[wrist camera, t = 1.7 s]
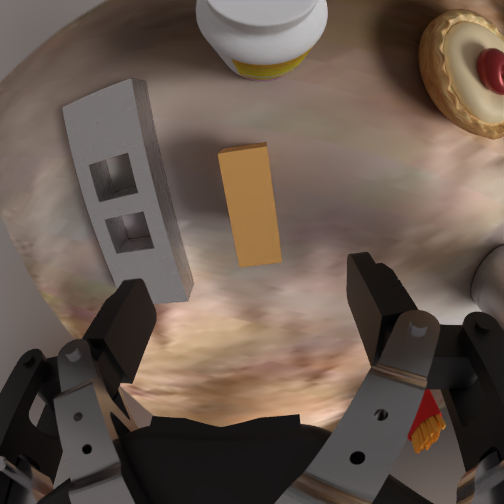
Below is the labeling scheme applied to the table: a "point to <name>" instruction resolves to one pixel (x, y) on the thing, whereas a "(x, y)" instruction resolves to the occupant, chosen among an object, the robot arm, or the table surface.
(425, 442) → the french fries
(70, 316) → the table surface
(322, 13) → the supplement bottle
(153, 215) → the rail
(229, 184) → the ochre wooden block
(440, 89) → the pastry
